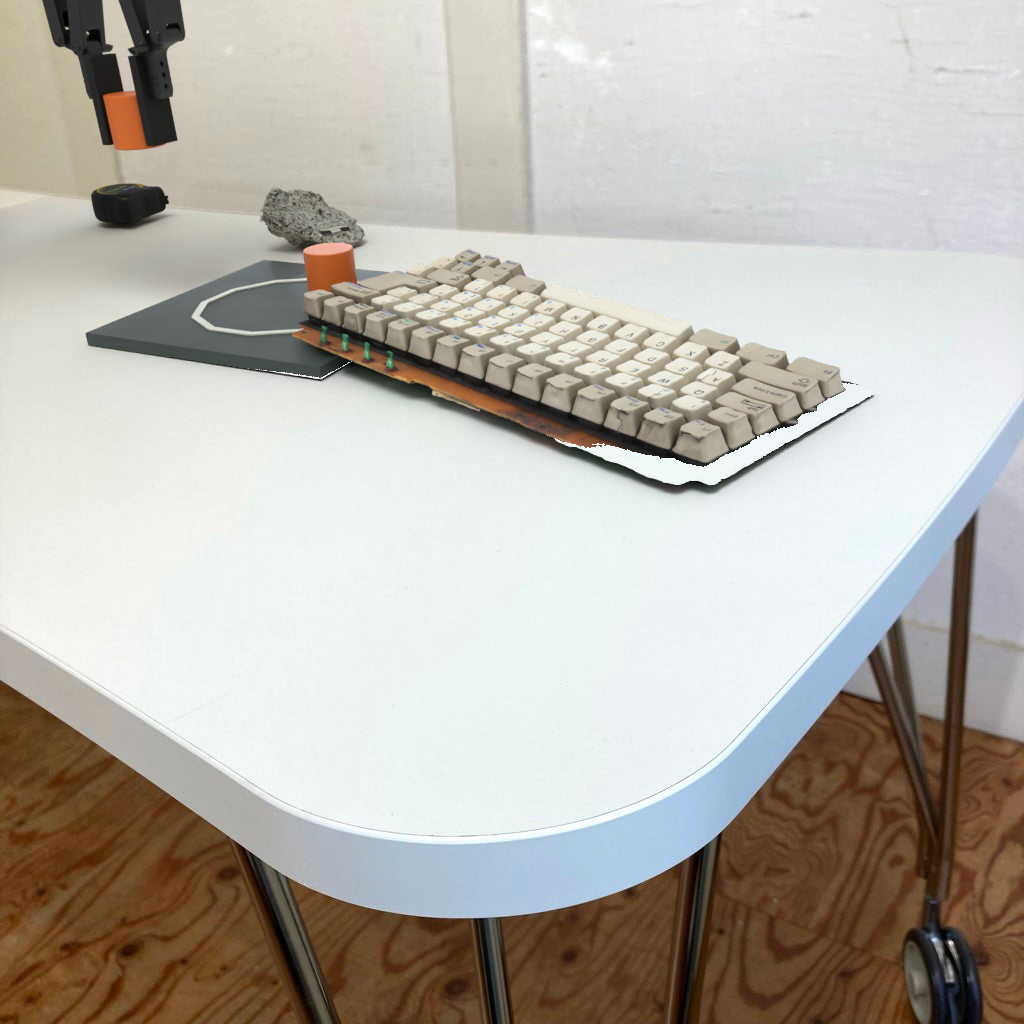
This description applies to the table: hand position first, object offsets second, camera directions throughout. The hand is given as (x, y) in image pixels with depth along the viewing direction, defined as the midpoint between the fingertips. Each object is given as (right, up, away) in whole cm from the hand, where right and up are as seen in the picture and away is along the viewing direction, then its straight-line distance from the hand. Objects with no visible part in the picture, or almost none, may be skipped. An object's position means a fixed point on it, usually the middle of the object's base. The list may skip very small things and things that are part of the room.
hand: (140, 142), depth 85 cm
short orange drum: (+15, -12, +2) cm, 19 cm away
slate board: (+12, -14, +1) cm, 18 cm away
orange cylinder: (0, 0, 0) cm, 0 cm away
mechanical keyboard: (+32, -20, -13) cm, 40 cm away
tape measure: (-13, +3, +35) cm, 38 cm away
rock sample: (+11, -3, +23) cm, 25 cm away
